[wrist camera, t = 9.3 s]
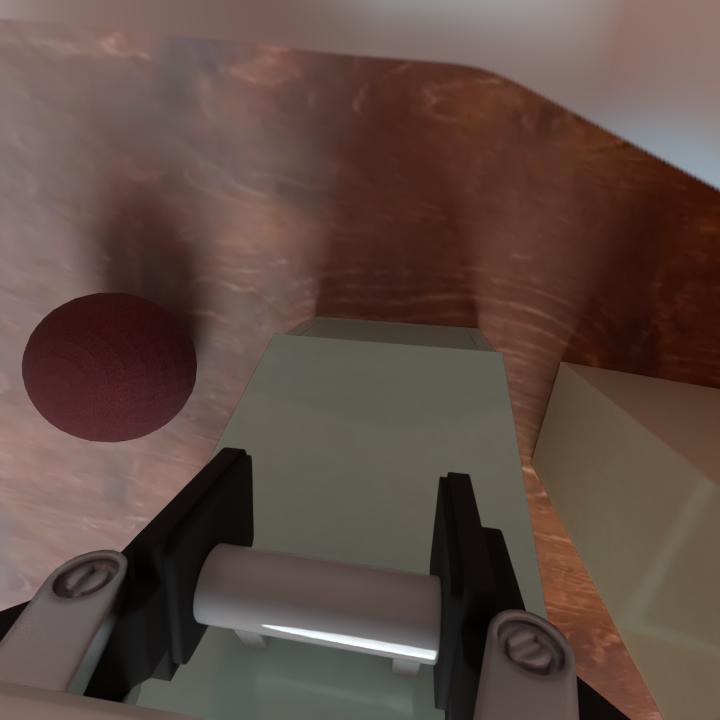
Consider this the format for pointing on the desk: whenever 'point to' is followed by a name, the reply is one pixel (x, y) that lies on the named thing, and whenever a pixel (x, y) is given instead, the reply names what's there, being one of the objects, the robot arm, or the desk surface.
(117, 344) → the decorative ball
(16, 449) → the desk surface
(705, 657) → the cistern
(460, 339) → the bowl box
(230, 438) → the pale green box lid
